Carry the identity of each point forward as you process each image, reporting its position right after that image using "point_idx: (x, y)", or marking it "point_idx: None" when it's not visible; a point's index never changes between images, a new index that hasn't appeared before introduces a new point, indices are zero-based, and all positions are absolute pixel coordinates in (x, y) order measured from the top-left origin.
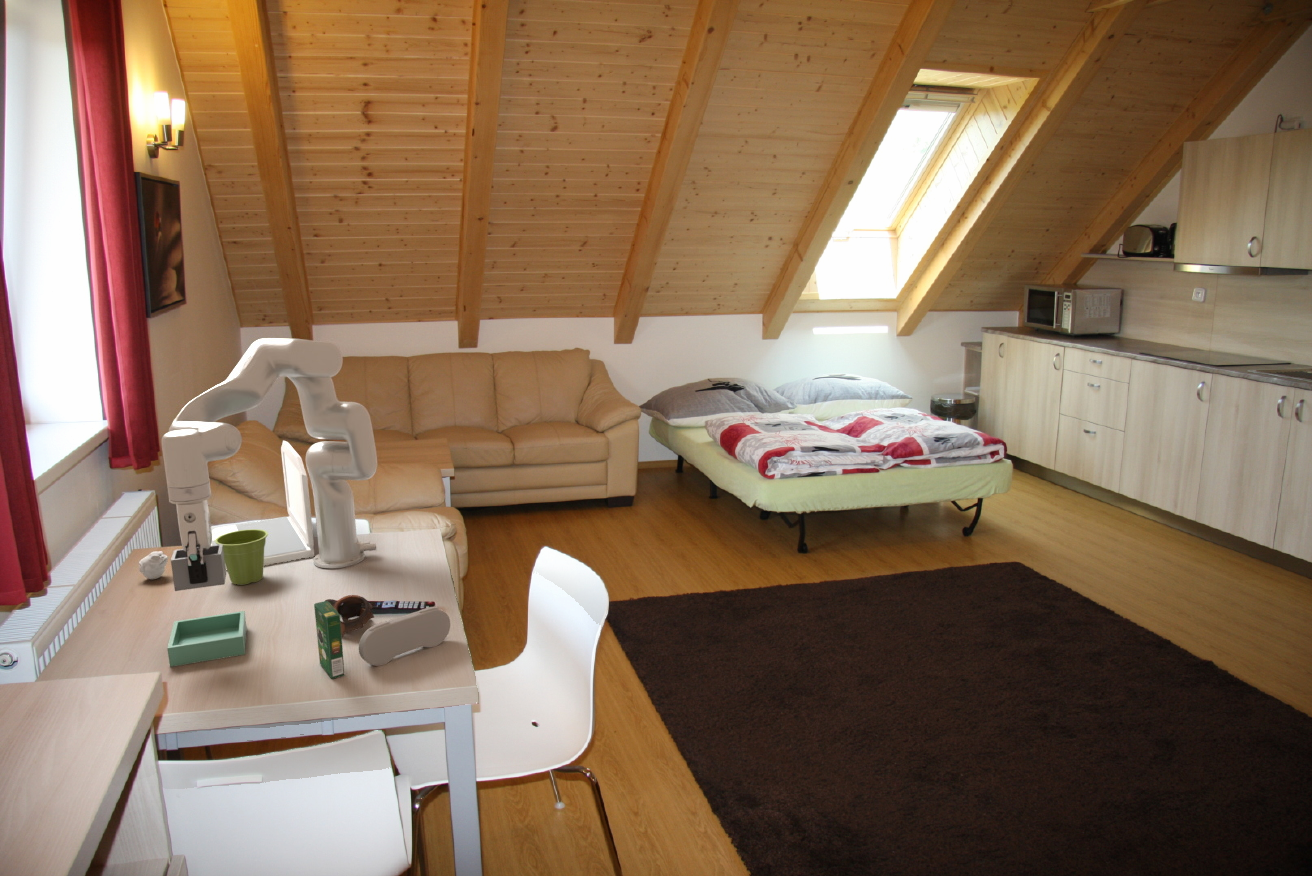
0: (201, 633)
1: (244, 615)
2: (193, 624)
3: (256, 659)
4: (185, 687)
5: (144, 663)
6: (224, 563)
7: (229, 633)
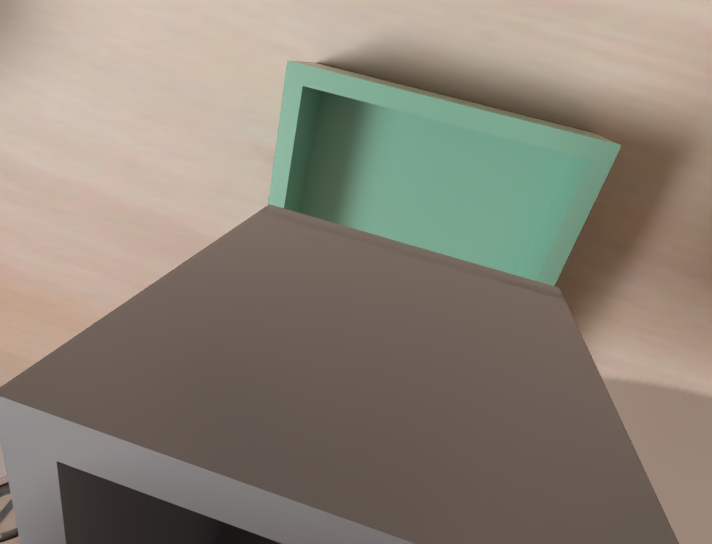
0: None
1: (335, 72)
2: None
3: (690, 99)
4: (702, 368)
5: None
6: (272, 264)
7: (373, 149)
